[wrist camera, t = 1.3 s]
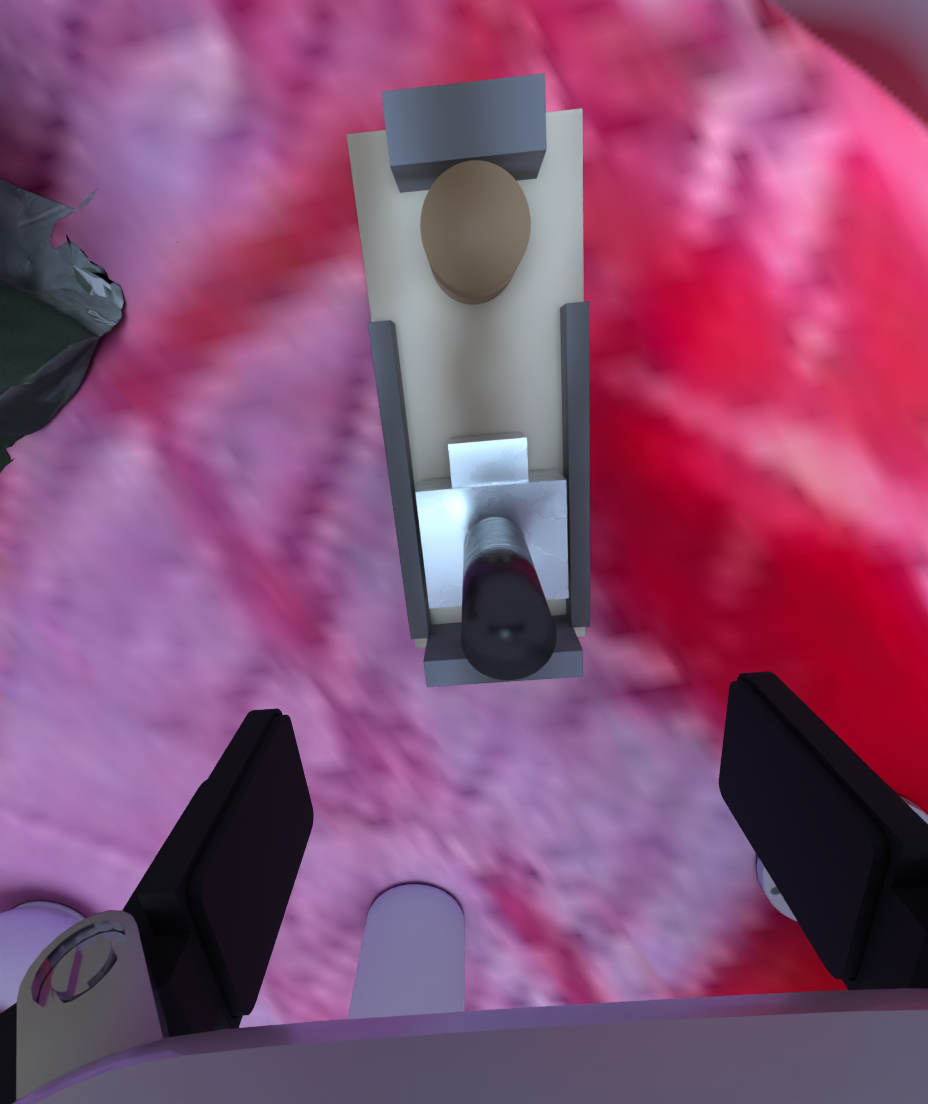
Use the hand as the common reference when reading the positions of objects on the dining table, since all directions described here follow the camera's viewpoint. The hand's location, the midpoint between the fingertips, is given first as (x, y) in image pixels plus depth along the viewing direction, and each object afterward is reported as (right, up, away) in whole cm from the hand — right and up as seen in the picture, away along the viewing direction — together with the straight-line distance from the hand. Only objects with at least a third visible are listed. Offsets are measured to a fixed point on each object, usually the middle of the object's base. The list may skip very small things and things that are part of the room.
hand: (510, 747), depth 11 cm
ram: (0, +6, +16) cm, 17 cm away
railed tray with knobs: (0, +11, +17) cm, 20 cm away
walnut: (-1, +18, +12) cm, 21 cm away
